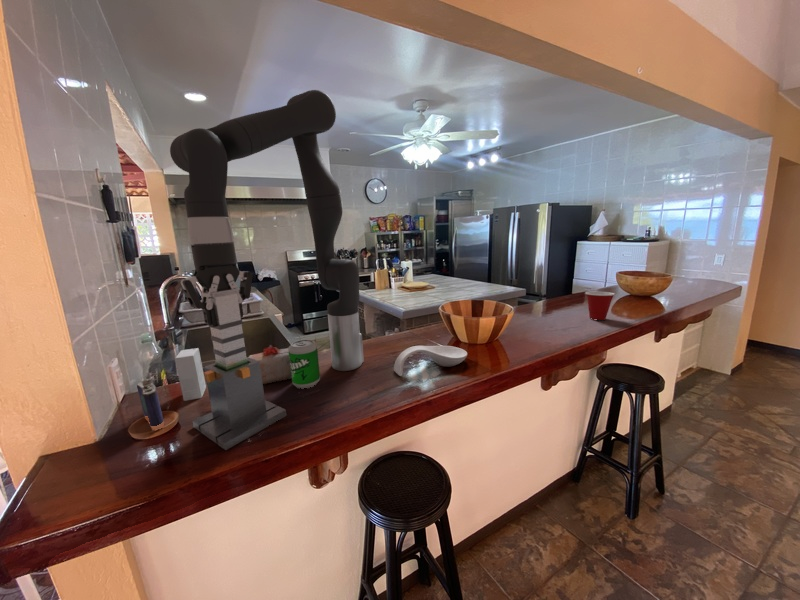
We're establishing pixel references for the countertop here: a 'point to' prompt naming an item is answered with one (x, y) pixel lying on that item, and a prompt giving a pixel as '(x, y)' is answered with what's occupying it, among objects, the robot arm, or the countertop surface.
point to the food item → (274, 364)
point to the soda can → (304, 363)
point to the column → (228, 331)
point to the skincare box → (190, 374)
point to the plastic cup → (599, 304)
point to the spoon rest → (432, 356)
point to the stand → (236, 405)
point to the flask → (150, 402)
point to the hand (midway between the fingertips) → (225, 322)
